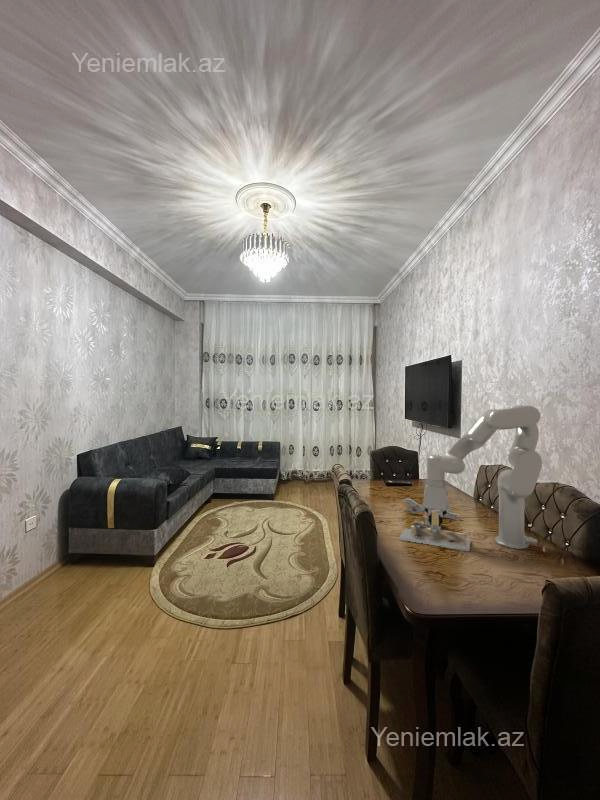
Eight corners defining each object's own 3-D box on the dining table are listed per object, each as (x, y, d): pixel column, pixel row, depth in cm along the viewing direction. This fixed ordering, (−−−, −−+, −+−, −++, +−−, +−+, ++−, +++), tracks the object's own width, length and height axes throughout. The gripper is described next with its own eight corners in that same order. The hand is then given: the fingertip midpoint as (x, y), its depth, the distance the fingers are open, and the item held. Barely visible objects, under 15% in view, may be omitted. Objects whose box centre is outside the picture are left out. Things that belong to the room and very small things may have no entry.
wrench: (460, 526, 189) (401, 512, 201) (460, 525, 190) (401, 511, 202) (462, 511, 188) (402, 497, 200) (462, 510, 190) (403, 497, 202)
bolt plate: (470, 541, 159) (470, 538, 159) (469, 551, 149) (469, 547, 149) (404, 531, 172) (404, 527, 172) (399, 539, 161) (399, 536, 161)
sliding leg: (440, 533, 164) (440, 512, 164) (439, 538, 158) (439, 516, 158) (431, 532, 165) (431, 511, 166) (429, 536, 160) (429, 515, 160)
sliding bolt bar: (466, 538, 159) (466, 527, 159) (465, 543, 153) (465, 532, 153) (411, 530, 169) (412, 519, 169) (409, 534, 164) (409, 523, 164)
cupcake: (439, 530, 173) (439, 509, 173) (420, 526, 179) (420, 506, 179) (445, 525, 180) (445, 505, 181) (426, 521, 186) (426, 502, 186)
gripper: (456, 483, 163) (455, 524, 163) (418, 479, 170) (417, 519, 170) (454, 487, 156) (454, 530, 156) (415, 483, 163) (415, 524, 163)
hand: (435, 524), depth 163 cm, fingers closed on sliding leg, 3 cm apart
